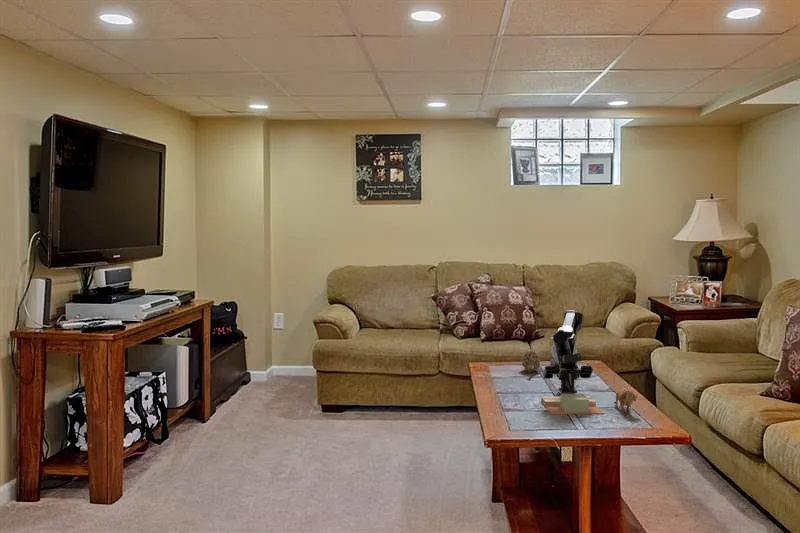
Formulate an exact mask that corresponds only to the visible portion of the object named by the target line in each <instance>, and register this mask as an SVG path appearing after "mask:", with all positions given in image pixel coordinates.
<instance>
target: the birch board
mask: <svg viewBox="0 0 800 533" xmlns="http://www.w3.org/2000/svg"><path fill="white" fill-rule="evenodd" d="M585 396H586V395H585ZM586 397H587V398H588V399H589V406H597V401H596V400H595V399H594V398H593V397H592V396H588V395H587V396H586ZM540 400H541V403H542V405H543V406H544V407H545V408H546V406H560V396H541V399H540Z"/></svg>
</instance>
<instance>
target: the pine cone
mask: <svg viewBox="0 0 800 533" xmlns="http://www.w3.org/2000/svg"><path fill="white" fill-rule="evenodd" d="M521 357H522V358H521V359H520V363H521V365H522V367H523V368H524V370H526V371H528V373H532V372H536V371H538V369H539V368H541V358H540V356H539V354H538V353H537V352H536V351H534V350H529V352H528V351H526V352H525V353H523V354H522V356H521Z"/></svg>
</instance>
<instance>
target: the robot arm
mask: <svg viewBox="0 0 800 533" xmlns="http://www.w3.org/2000/svg"><path fill="white" fill-rule="evenodd" d="M584 323H585V316H584V314H583V313H581V312H578V310H570V309H569V310H565V312H564V313H563V323H562V326H561V327H559V328H558V329H557V332H555V333H554V334H553V336H552V337H553V341H554V345H555V348H556V353H557V358H558V363H557V369H556V368H555V366H551V365H545V367H544V369H543V373H542V374H543V379H553V377H554V375H556V377H557V379H558V381H560V387H558V390H559V391H560V392H561V393H578V391H577V389H576V387H575V385H576V384H575V383H576V382H575V381H576V380H577V379H590V378H591V376H592V374H593V371H594V369H593V366H591V365H588V364H587V365H586V364H585V365H583V364H582V365H581V366H580V368H579V364H578V365H577V364H576V363H577V362H578V363H579V362H581V361H582V355H581V353H580V352H578V353H575V346H576V344H577V337H578V333H579V332H580V331H581V330H582V328H583V325H584ZM574 353H575V355H574Z"/></svg>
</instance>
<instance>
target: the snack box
mask: <svg viewBox="0 0 800 533" xmlns="http://www.w3.org/2000/svg"><path fill="white" fill-rule="evenodd" d="M549 348H550V349H549V350H550V351H549V352H550V353H549V354H550V355H549V356H550V365H549V366H555V368H556V369H557V363H558V358H557V353H556V348H555V345H554V341H553V336H550V337H549ZM578 348H579V344H577V343H576V346H575V353H579V352H578V351H579V349H578ZM575 353H574V355H575ZM576 364H577V365H578V366H579V362H577V363H576Z"/></svg>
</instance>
